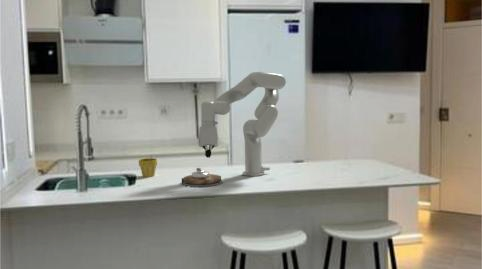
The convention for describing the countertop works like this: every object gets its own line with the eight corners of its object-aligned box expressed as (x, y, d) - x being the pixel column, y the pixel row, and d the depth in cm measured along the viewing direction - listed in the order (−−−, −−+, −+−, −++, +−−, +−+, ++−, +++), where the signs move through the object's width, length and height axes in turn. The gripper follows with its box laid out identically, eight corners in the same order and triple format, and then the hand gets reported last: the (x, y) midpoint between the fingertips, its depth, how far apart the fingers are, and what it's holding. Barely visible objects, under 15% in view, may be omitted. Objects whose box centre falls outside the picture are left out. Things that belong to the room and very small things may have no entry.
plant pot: (153, 178, 277) (153, 160, 276) (136, 177, 279) (135, 160, 278) (160, 174, 287) (159, 158, 286) (143, 174, 290) (143, 157, 289)
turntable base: (217, 177, 275) (217, 172, 274) (227, 185, 254) (227, 179, 253) (178, 180, 268) (178, 174, 268) (185, 188, 247) (185, 182, 247)
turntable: (216, 176, 273) (215, 166, 273) (225, 182, 254) (225, 172, 254) (180, 178, 268) (180, 169, 267) (187, 185, 249) (186, 175, 248)
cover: (206, 175, 266) (206, 168, 265) (210, 178, 257) (210, 171, 257) (190, 177, 263) (190, 169, 263) (194, 179, 254) (193, 172, 254)
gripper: (219, 123, 274) (219, 156, 275) (193, 123, 269) (193, 156, 271) (223, 124, 267) (223, 157, 268) (196, 124, 262) (196, 158, 264)
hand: (208, 157), depth 270 cm, fingers closed
